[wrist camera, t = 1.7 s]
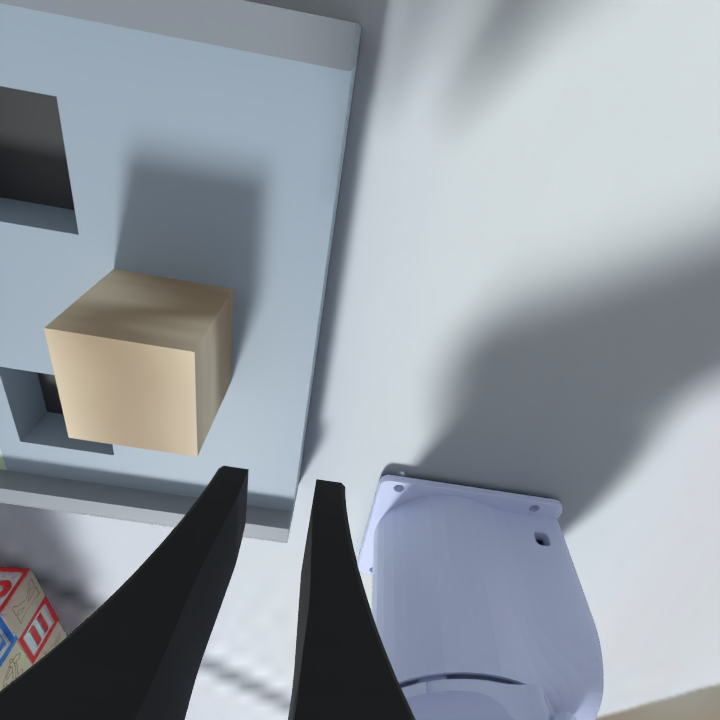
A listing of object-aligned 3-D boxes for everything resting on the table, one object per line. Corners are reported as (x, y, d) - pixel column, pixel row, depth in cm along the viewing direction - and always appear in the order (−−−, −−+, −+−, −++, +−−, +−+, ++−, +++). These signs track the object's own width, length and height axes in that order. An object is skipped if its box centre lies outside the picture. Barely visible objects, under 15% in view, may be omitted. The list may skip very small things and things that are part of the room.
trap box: (362, 25, 14) (352, 20, 10) (298, 485, 25) (281, 573, 21) (-322, -112, 13) (-641, -179, 9) (-79, 429, 24) (-175, 510, 20)
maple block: (233, 288, 17) (194, 351, 13) (230, 382, 19) (197, 456, 15) (113, 268, 16) (44, 327, 13) (125, 366, 18) (68, 437, 15)
